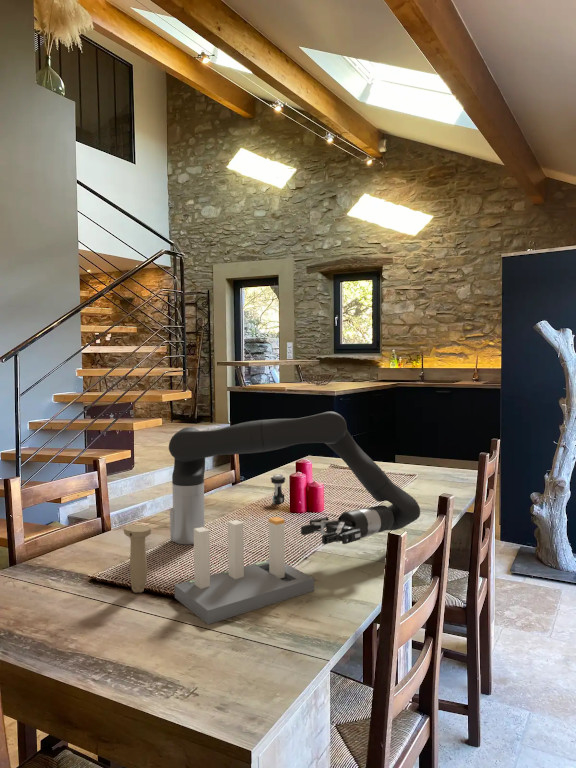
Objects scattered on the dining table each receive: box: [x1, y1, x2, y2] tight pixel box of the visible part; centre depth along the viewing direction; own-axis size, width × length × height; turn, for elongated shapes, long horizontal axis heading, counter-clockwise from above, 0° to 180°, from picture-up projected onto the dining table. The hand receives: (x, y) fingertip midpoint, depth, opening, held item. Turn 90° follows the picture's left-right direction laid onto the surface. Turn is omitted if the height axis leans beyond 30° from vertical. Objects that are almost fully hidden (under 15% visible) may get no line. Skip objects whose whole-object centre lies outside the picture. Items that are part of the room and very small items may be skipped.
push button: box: [270, 473, 286, 505], centre depth 213 cm, size 7×5×10 cm
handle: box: [123, 524, 152, 593], centre depth 137 cm, size 5×6×15 cm
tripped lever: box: [268, 516, 286, 579], centre depth 140 cm, size 2×3×14 cm
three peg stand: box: [174, 519, 315, 625], centre depth 135 cm, size 28×16×16 cm, turn 126°
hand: (312, 535), depth 147 cm, fingers open, 8 cm apart
